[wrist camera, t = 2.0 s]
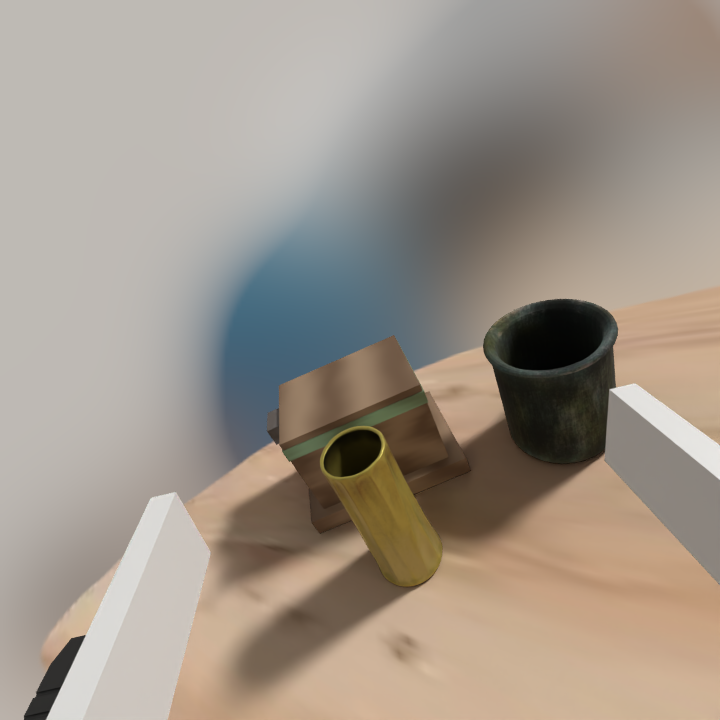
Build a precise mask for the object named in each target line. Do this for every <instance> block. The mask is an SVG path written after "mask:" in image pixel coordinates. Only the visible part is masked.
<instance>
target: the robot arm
mask: <svg viewBox="0 0 720 720" xmlns="http://www.w3.org/2000/svg"><path fill="white" fill-rule="evenodd" d="M604 461H605V462H606V463H607V464H608V465H609V466H610V467H611V468H612V469H613V470H614V471H615V472H616V473H617V475H618V476H619V477H620V478H621V479H622V480H623V481H624V482H625V483H626V484H627V485H628V486H629V487H630V489H631V490H632V491H633V492H634V493H635V494H636V495H637V496H638V497H639V498H640V499H641V500H642V502H643V503H644V504H645V505H646V506H647V507H648V508H649V509H650V510H651V511H652V512H653V513H654V514H655V516H656V517H657V518H658V519H659V520H660V521H661V522H662V523H663V524H664V525H665V526H666V527H667V529H668V530H669V531H670V532H671V533H672V534H673V535H674V536H675V537H676V538H677V539H678V540H679V541H680V543H681V544H682V545H683V546H684V547H685V548H686V549H687V550H688V551H689V552H690V553H691V554H692V556H693V557H694V558H695V559H696V560H697V561H698V562H699V563H700V564H701V565H702V566H703V567H704V568H705V570H706V571H707V572H708V573H709V574H710V575H711V576H712V577H713V578H714V579H715V580H716V581H717V583H718V584H719V585H720V445H718V444H717V443H716V442H714V441H713V440H712V439H710V438H709V437H708V436H706V435H705V434H704V433H702V432H701V431H699V430H698V429H697V428H695V427H694V426H693V425H691V424H690V423H689V422H687V421H686V420H684V419H683V418H682V417H680V416H679V415H678V414H676V413H675V412H674V411H672V410H671V409H669V408H668V407H667V406H665V405H664V404H663V403H661V402H660V401H659V400H657V399H656V398H654V397H653V396H652V395H650V394H649V393H648V392H646V391H645V390H644V389H642V388H641V387H639V386H638V385H637V384H635V383H634V384H630V385H626V386H622V387H617V388H613V389H609V402H608V417H607V431H606V446H605V460H604ZM210 554H211V552H210V550H209V549H208V547H207V545H206V543H205V542H204V540H203V538H202V536H201V535H200V533H199V531H198V530H197V528H196V526H195V524H194V523H193V521H192V519H191V517H190V516H189V514H188V512H187V510H186V509H185V507H184V505H183V504H182V502H181V500H180V498H179V497H178V495H177V493H176V492H174V493H170V494H165V495H161V496H157V497H153V498H151V499H150V501H149V503H148V505H147V507H146V510H145V512H144V514H143V516H142V518H141V520H140V522H139V525H138V526H137V529H136V531H135V533H134V535H133V537H132V539H131V541H130V543H129V546H128V548H127V550H126V552H125V554H124V556H123V558H122V560H121V562H120V564H119V567H118V569H117V571H116V573H115V575H114V577H113V579H112V581H111V584H110V586H109V588H108V590H107V592H106V594H105V596H104V598H103V600H102V603H101V605H100V607H99V609H98V611H97V613H96V615H95V617H94V619H93V622H92V624H91V626H90V628H89V630H88V632H87V634H86V635H84V636H80V637H75V638H71V640H70V641H69V642H68V643H67V645H66V646H65V647H64V648H63V650H62V651H61V652H60V653H59V655H58V656H57V657H56V658H55V660H54V661H53V662H52V663H51V665H50V667H49V669H48V670H47V672H46V674H45V676H44V678H43V680H42V682H41V684H40V686H39V688H38V690H37V692H36V694H37V695H36V697H35V698H33V700H32V702H31V703H30V705H29V707H28V710H27V711H26V713H25V715H24V720H167V719H168V715H169V711H170V707H171V704H172V700H173V696H174V692H175V688H176V684H177V681H178V677H179V673H180V669H181V665H182V661H183V658H184V654H185V650H186V646H187V642H188V638H189V635H190V631H191V627H192V623H193V619H194V615H195V612H196V608H197V604H198V600H199V596H200V592H201V589H202V585H203V581H204V577H205V573H206V569H207V565H208V562H209V558H210Z"/></svg>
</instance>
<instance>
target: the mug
mask: <svg viewBox="0 0 720 720" xmlns="http://www.w3.org/2000/svg"><path fill="white" fill-rule="evenodd" d="M617 336H618V327H617V323H616V321H615V319H614V318H613V316H612V315H611V314H610V313H609V312H608V311H607V310H605V309H604V308H602V307H600V306H598V305H596V304H593V303H590V302H586V301H581V300H573V299H555V300H546V301H540V302H536V303H532V304H529V305H526V306H523V307H520V308H518V309H516V310H514V311H512V312H510V313H508V314H506V315H505V316H503V317H502V318H500V319H499V320H498V321H497V322H495V323H494V324H493V326H492V327H491V328H490V329H489V331H488V332H487V334H486V336H485V339H484V344H483V349H484V354H485V356H486V358H487V359H488V361H489V362H490V363H491V364H492V366H493V369H494V373H495V377H496V381H497V384H498V388H499V392H500V396H501V400H502V403H503V407H504V411H505V415H506V419H507V422H508V426H509V430H510V433H511V436H512V438H513V440H514V441H515V443H516V444H517V445H518V446H519V447H520V448H521V449H522V450H523V451H525V452H526V453H528V454H529V455H531V456H533V457H535V458H538V459H540V460H543V461H547V462H552V463H574V462H579V461H583V460H586V459H589V458H591V457H593V456H595V455H597V454H599V453H600V452H601V451H603V450H604V449H605V446H606V431H607V417H608V402H609V389H613V388H616V383H615V369H614V354H613V345H614V344H615V341H616V338H617Z"/></svg>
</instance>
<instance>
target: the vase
mask: <svg viewBox="0 0 720 720" xmlns="http://www.w3.org/2000/svg"><path fill="white" fill-rule="evenodd" d="M320 468H321V471H322V473H323V474H324V476H325V478H326V479H327V481H328V482H329V484H330V485H331V487H332V488H333V490H334V491H335V493H336V494H337V496H338V497H339V499H340V501H341V502H342V504H343V506H344V507H345V509H346V511H347V512H348V514H349V516H350V518H351V519H352V521H353V523H354V524H355V526H356V527H357V529H358V531H359V533H360V535H361V536H362V538H363V540H364V541H365V543H366V545H367V547H368V548H369V550H370V552H371V553H372V555H373V557H374V558H375V560H376V562H377V563H378V566H379V568H380V570H381V572H382V574H383V576H384V577H385V578H386V579H387V580H388V581H390V582H391V583H393V584H395V585H398V586H403V587H408V586H415V585H418V584H421V583H423V582H424V581H426V580H428V579H429V578H430V577H431V576H432V575H433V574H434V573H435V571H436V570H437V568H438V566H439V564H440V561H441V557H442V543H441V540H440V538H439V536H438V534H437V532H436V531H435V530H434V529H433V527H432V526H431V524H430V523H429V521H428V520H427V518H426V516H425V515H424V513H423V511H422V509H421V508H420V506H419V504H418V502H417V501H416V499H415V497H414V495H413V493H412V492H411V490H410V488H409V486H408V484H407V483H406V481H405V479H404V477H403V474H402V472H401V470H400V468H399V466H398V464H397V462H396V460H395V458H394V456H393V454H392V452H391V450H390V448H389V446H388V444H387V442H386V440H385V438H384V436H383V434H382V433H381V432H380V431H379V430H377V429H375V428H373V427H370V426H356V427H352V428H349V429H346V430H344V431H342V432H340V433H339V434H337V435H336V436H334V437H333V438H332V439H331V440H330V441H329V443H328V444H327V445H326V446H325V448H324V450H323V452H322V454H321V457H320Z"/></svg>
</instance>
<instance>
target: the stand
mask: <svg viewBox="0 0 720 720" xmlns="http://www.w3.org/2000/svg"><path fill="white" fill-rule="evenodd" d="M356 426H370V427H373V428H375V429H377V430H379V431H380V432H381V433H382V434H383V436H384V438H385V440H386V442H387V444H388V446H389V448H390V450H391V452H392V454H393V456H394V458H395V460H396V462H397V464H398V466H399V468H400V470H401V472H402V474H403V477H404V479H405V481H406V483H407V484H408V486H409V488H410V490H411V492H412V493H413V495H414V494H416V493H418V492H421V491H423V490H426V489H428V488H430V487H433V486H435V485H438V484H440V483H442V482H445V481H447V480H450V479H452V478H454V477H457V476H459V475H462V474H464V473H467V472H469V471H471V470H470V468H469V465H468V462H467V459H466V457H465V455H464V453H463V452H462V450H461V448H460V446H459V444H458V443H457V441H456V439H455V437H454V435H453V434H452V432H451V430H450V428H449V426H448V425H447V423H446V421H445V419H444V417H443V415H442V414H441V412H440V410H439V408H438V406H437V405H436V403H435V401H434V399H433V397H432V396H431V394H430V392H426V393H425V392H424V390H423V388H422V386H421V384H420V383H419V381H418V379H417V377H416V375H415V373H414V371H413V370H412V368H411V366H410V364H409V362H408V360H407V358H406V356H405V355H404V353H403V351H402V349H401V347H400V345H399V343H398V341H397V340H396V338H395V336H394V335H393V336H391V337H389V338H387V339H385V340H382V341H380V342H378V343H375V344H373V345H371V346H368V347H366V348H364V349H361V350H359V351H357V352H355V353H352V354H350V355H348V356H345V357H343V358H341V359H339V360H336V361H334V362H332V363H329V364H327V365H325V366H323V367H320V368H318V369H316V370H314V371H311V372H309V373H307V374H304V375H302V376H300V377H298V378H295V379H293V380H291V381H289V382H286V383H284V384H281V385H280V386H279V408H278V409H276V410H274V411H272V412H269V413H268V418H267V432H268V433H269V435H270V436H271V438H272V439H273V440H274V442H275V443H276V445H277V444H279V445H280V447H281V448H282V452H283V453H284V455H285V456H286V458H287V459H288V461H289V462H290V461H291V462H292V464H293V465H294V467H295V468H296V470H297V471H298V472H299V474H300V475H301V477H302V478H303V480H304V481H305V482H306V484H307V485H308V487H309V497H310V509H311V521H312V524H313V525H314V526H315V528H316V529H317V530H318V532H319V533H322V532H324V531H327V530H329V529H332V528H334V527H337V526H339V525H341V524H344V523H346V522H349V521H351V520H352V519H351V518H350V516H349V514H348V512H347V511H346V509H345V507H344V506H343V504H342V502H341V501H340V499H339V497H338V496H337V494H336V493H335V491H334V490H333V488H332V487H331V485H330V484H329V482H328V481H327V479H326V478H325V476H324V474H323V473H322V471H321V468H320V457H321V454H322V452H323V450H324V448H325V446H326V445H327V444H328V443H329V441H330V440H331V439H332V438H333V437H334V436H336V435H337V434H339V433H340V432H342V431H344V430H346V429H349V428H352V427H356Z"/></svg>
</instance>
